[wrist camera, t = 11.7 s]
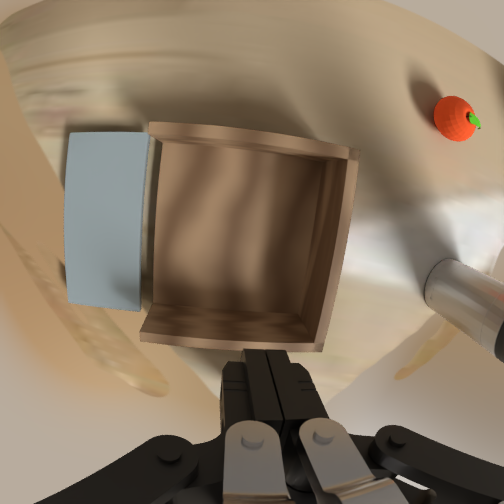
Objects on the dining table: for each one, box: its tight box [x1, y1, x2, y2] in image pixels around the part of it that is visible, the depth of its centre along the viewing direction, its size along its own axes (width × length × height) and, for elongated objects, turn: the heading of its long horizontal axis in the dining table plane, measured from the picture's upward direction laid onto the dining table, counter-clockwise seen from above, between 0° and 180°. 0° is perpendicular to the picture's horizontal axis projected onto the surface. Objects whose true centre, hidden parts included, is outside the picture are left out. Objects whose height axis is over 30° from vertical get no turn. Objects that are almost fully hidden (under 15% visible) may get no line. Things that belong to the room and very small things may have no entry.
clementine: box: [434, 96, 481, 141], centre depth 32 cm, size 8×7×7 cm
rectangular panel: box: [64, 132, 150, 312], centre depth 32 cm, size 2×22×10 cm
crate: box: [140, 122, 360, 352], centre depth 32 cm, size 20×22×9 cm
